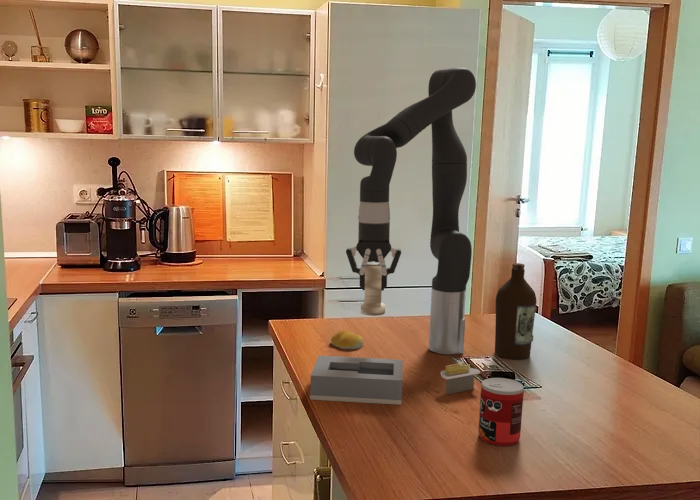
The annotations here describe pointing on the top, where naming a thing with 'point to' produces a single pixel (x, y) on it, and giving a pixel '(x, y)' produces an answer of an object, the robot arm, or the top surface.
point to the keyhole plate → (357, 380)
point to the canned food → (500, 411)
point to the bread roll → (346, 340)
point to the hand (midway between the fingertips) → (373, 289)
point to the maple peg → (373, 291)
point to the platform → (459, 378)
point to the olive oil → (515, 316)
